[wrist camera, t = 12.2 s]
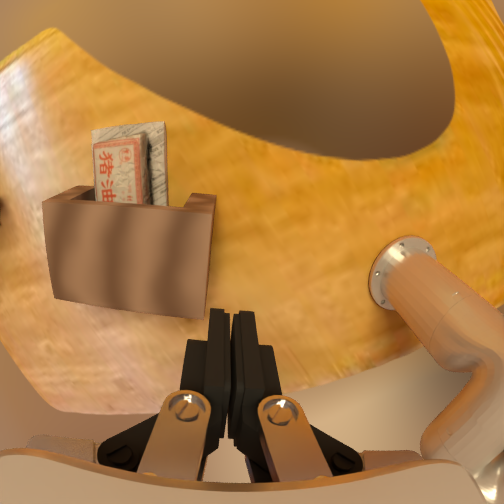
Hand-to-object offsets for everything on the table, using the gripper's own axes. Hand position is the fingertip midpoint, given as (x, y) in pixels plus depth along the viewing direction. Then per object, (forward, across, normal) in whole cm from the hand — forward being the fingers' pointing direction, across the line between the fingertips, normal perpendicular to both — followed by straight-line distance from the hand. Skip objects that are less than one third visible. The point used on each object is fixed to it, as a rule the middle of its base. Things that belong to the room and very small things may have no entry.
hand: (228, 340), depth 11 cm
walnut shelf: (+27, +11, +6) cm, 30 cm away
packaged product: (+28, +12, +1) cm, 30 cm away
